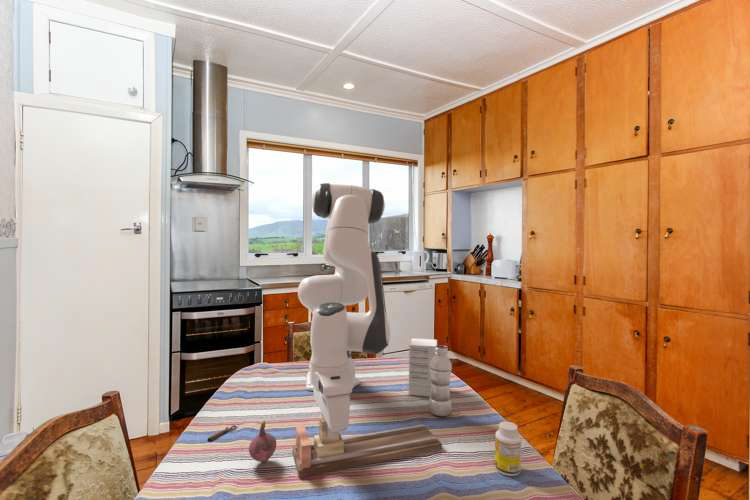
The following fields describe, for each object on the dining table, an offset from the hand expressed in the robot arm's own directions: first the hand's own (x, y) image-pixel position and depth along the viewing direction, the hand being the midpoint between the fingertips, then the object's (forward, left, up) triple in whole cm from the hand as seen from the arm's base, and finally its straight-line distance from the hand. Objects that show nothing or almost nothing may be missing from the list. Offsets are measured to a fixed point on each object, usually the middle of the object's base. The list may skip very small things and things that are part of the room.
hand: (328, 432), depth 90 cm
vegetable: (-3, -15, -6) cm, 16 cm away
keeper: (0, 0, -5) cm, 5 cm away
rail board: (0, +10, -6) cm, 12 cm away
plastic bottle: (-12, +36, -6) cm, 39 cm away
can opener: (-20, -24, -7) cm, 32 cm away
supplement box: (-29, +39, -7) cm, 49 cm away
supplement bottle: (+17, +37, -6) cm, 42 cm away
